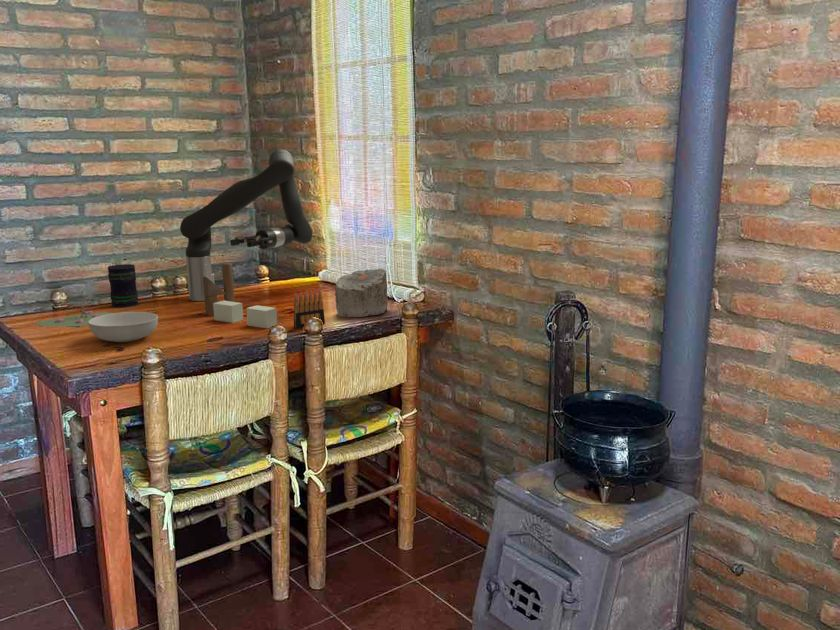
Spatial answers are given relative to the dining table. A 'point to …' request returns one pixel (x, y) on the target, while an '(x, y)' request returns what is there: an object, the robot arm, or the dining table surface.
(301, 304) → the ammunition clip
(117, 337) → the serving bowl
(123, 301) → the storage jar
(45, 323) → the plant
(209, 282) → the wooden angular bracket
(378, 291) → the petrified wood
